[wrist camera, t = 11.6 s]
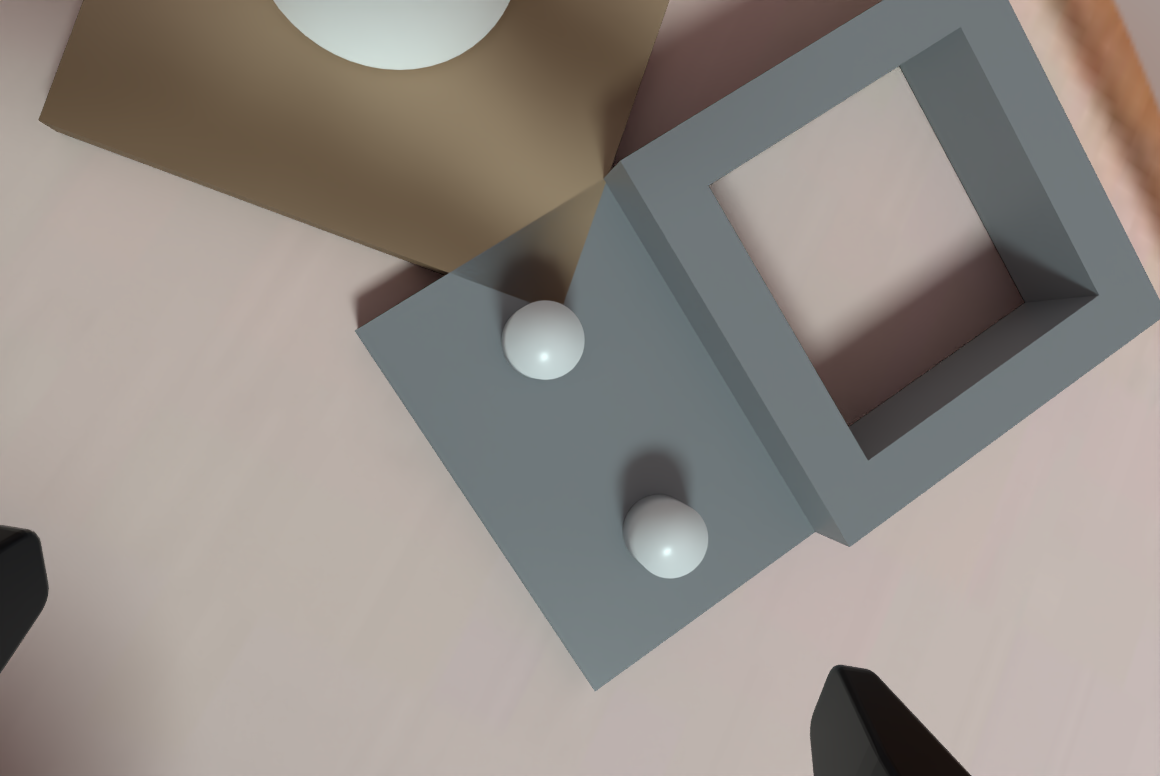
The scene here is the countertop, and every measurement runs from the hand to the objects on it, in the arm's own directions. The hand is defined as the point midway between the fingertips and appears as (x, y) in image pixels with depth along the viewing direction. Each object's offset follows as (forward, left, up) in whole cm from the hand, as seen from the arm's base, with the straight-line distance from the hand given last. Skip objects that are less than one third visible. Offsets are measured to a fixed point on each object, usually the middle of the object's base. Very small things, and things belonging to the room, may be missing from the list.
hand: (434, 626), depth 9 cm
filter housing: (+9, +3, -11) cm, 14 cm away
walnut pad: (+1, +13, -11) cm, 17 cm away
